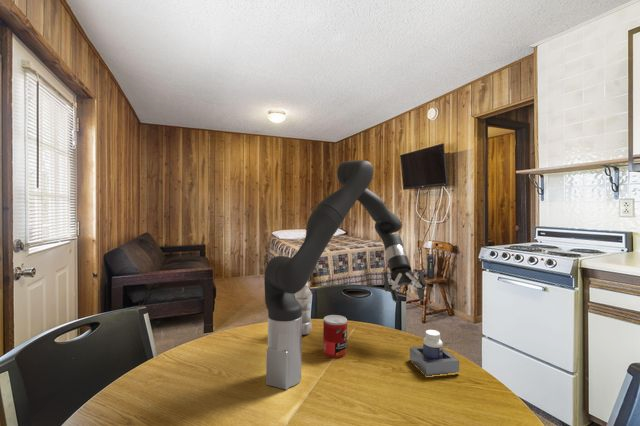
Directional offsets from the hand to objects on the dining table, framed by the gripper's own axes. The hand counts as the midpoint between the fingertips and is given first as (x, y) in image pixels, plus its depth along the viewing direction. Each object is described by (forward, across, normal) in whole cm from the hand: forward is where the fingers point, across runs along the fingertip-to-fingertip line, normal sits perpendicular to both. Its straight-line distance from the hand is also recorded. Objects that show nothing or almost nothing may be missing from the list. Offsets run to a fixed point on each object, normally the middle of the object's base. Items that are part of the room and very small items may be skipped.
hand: (409, 300), depth 100 cm
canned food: (+12, -26, +8) cm, 30 cm away
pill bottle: (+20, +2, +2) cm, 20 cm away
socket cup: (+20, +2, +2) cm, 21 cm away
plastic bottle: (+1, -37, +20) cm, 42 cm away
